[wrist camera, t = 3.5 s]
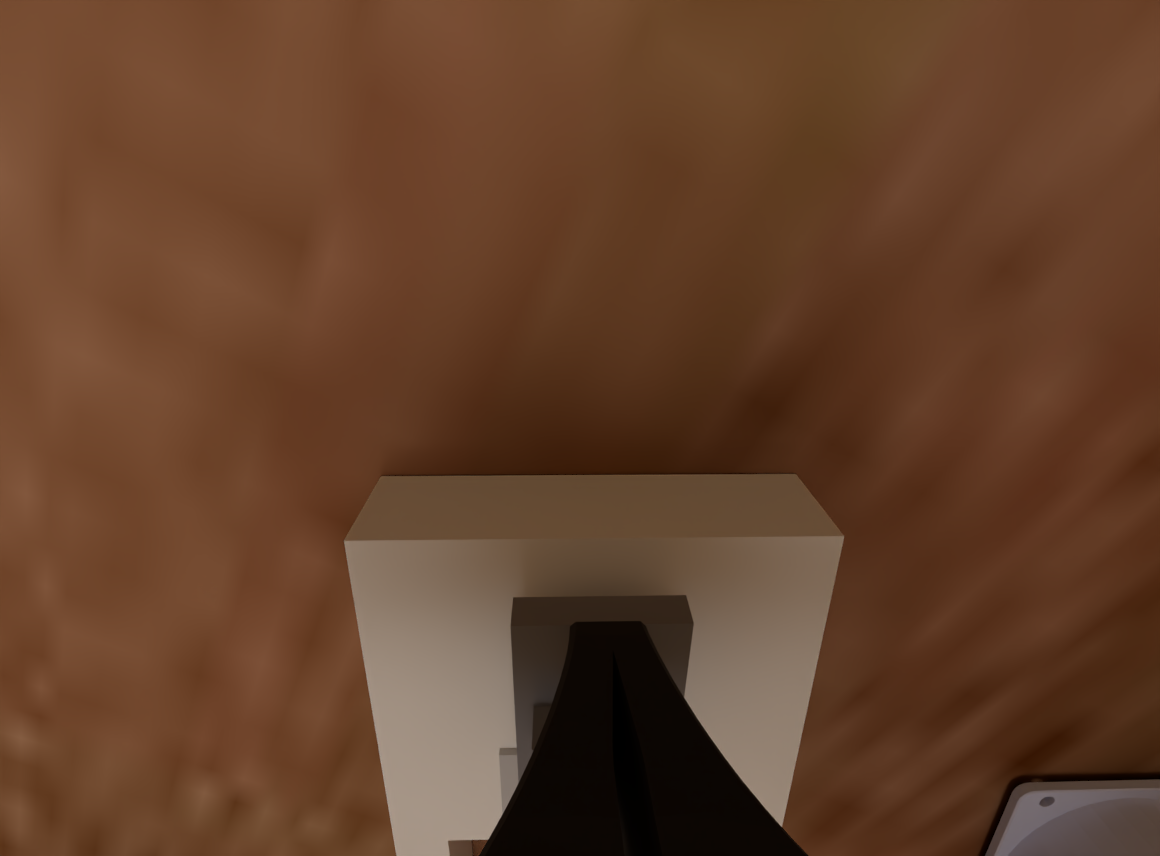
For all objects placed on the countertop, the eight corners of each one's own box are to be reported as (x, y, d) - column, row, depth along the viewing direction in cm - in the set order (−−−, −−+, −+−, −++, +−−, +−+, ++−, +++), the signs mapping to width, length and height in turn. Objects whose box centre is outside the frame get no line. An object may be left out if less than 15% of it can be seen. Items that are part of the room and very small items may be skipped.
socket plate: (795, 473, 16) (848, 541, 13) (730, 856, 23) (756, 960, 20) (380, 476, 16) (340, 546, 13) (432, 865, 22) (413, 971, 19)
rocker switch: (685, 595, 13) (705, 664, 11) (665, 766, 15) (678, 843, 14) (513, 596, 13) (506, 667, 11) (521, 769, 15) (516, 847, 13)
